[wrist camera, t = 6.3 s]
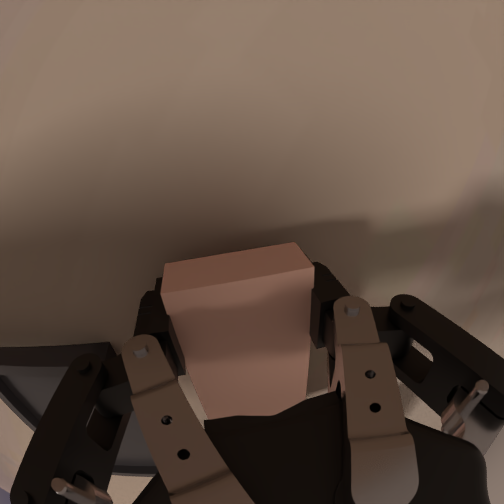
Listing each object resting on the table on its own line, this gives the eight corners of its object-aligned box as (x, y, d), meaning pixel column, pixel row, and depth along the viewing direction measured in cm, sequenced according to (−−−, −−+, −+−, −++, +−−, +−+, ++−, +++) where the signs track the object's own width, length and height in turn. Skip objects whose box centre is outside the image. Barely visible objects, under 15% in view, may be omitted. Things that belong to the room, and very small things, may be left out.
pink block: (165, 263, 10) (160, 293, 8) (294, 241, 11) (314, 266, 9) (223, 434, 17) (227, 457, 15) (292, 420, 17) (299, 442, 15)
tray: (-20, 347, 12) (-29, 362, 10) (109, 342, 14) (103, 365, 12) (87, 459, 21) (86, 471, 19) (191, 461, 22) (192, 475, 21)
